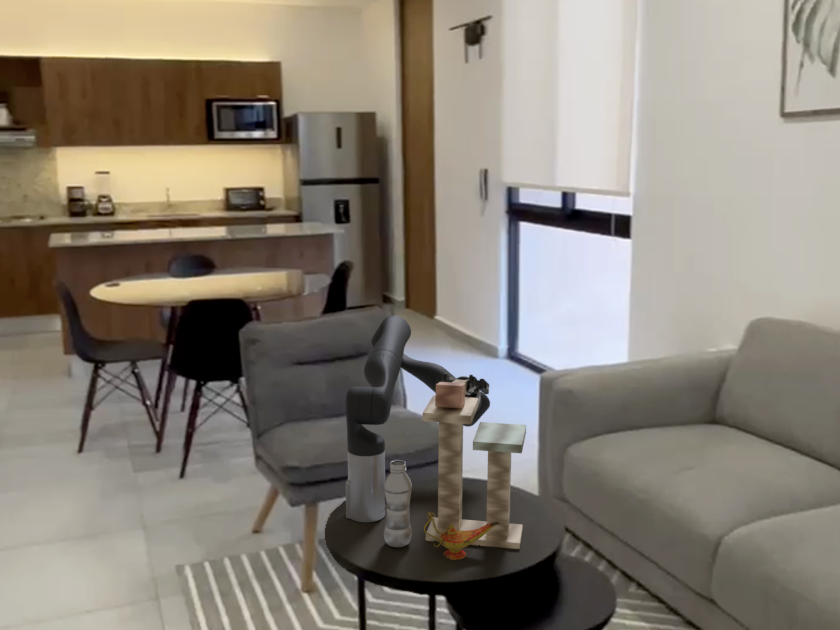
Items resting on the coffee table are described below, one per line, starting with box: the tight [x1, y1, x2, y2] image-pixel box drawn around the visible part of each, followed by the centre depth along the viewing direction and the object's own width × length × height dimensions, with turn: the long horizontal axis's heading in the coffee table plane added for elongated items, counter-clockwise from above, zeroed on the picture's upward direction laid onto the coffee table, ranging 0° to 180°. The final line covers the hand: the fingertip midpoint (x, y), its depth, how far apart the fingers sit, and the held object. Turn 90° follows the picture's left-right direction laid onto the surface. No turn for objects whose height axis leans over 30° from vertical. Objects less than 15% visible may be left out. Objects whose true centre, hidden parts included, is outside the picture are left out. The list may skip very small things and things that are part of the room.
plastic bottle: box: [383, 459, 413, 548], centre depth 196 cm, size 6×7×20 cm
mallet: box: [435, 380, 468, 408], centre depth 204 cm, size 6×22×5 cm, turn 169°
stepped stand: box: [422, 394, 527, 550], centre depth 200 cm, size 22×14×32 cm, turn 79°
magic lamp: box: [423, 511, 500, 561], centre depth 193 cm, size 7×18×11 cm, turn 103°
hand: (457, 377), depth 207 cm, fingers open, 5 cm apart
